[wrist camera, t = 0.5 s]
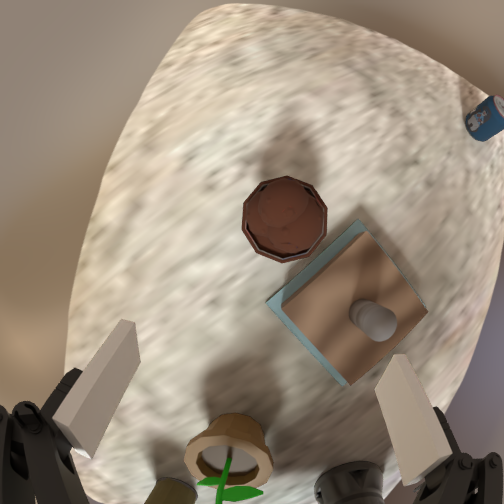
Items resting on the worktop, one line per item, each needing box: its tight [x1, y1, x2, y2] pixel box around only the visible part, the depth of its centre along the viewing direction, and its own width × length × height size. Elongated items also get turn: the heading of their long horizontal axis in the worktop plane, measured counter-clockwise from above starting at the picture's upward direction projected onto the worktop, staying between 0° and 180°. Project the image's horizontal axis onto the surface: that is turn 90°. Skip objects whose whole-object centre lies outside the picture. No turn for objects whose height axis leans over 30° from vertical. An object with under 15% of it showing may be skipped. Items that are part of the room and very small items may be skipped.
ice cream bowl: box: [242, 176, 327, 263], centre depth 36 cm, size 11×11×15 cm
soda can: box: [466, 95, 504, 141], centre depth 34 cm, size 7×7×12 cm
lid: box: [281, 231, 428, 385], centre depth 35 cm, size 17×17×13 cm
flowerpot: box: [184, 413, 274, 504], centre depth 28 cm, size 14×14×30 cm
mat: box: [266, 219, 426, 386], centre depth 42 cm, size 20×20×1 cm
